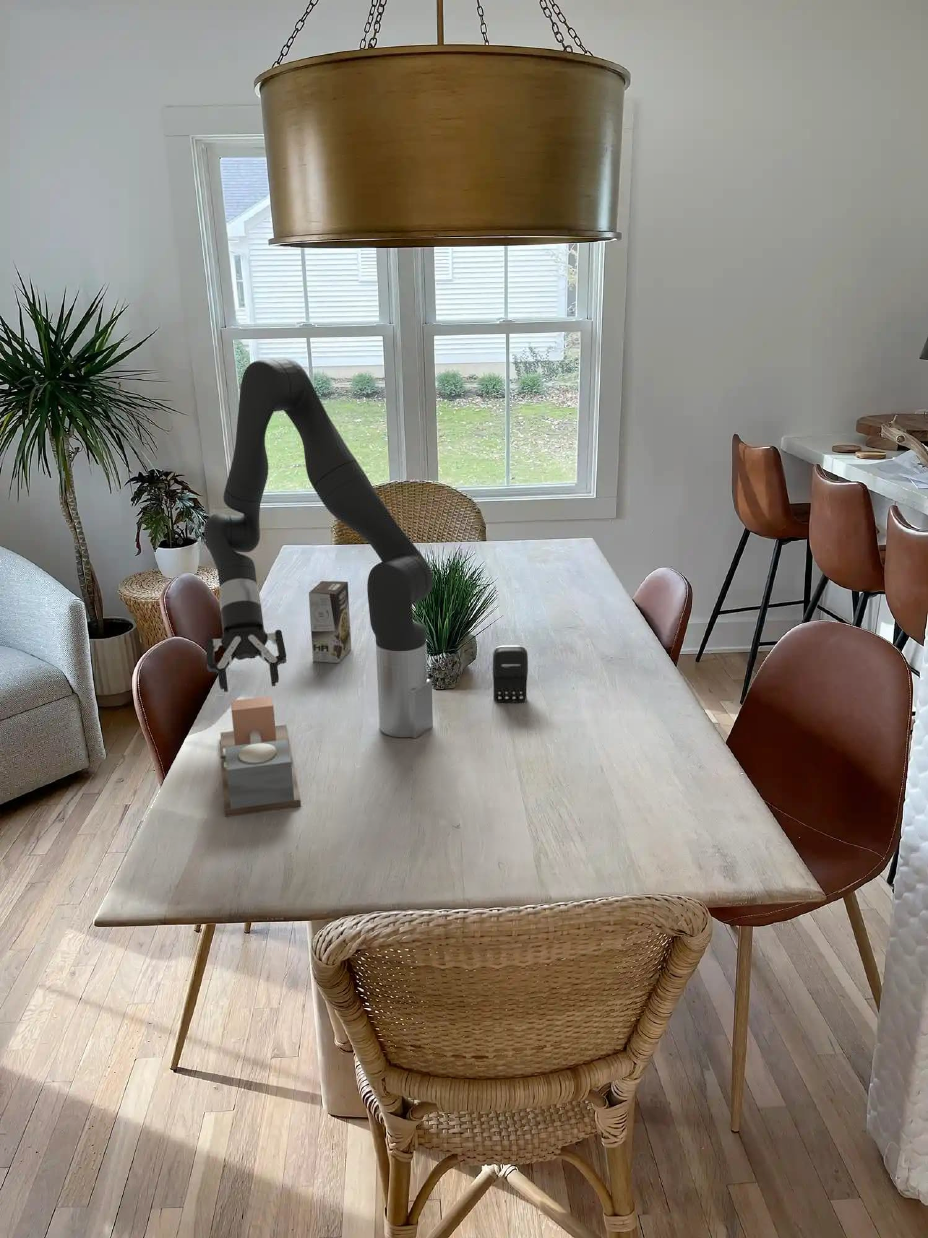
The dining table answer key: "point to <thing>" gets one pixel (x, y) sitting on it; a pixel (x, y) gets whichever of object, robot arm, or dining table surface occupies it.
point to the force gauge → (258, 775)
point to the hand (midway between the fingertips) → (250, 687)
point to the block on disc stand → (253, 721)
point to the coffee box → (330, 621)
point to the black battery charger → (510, 674)
